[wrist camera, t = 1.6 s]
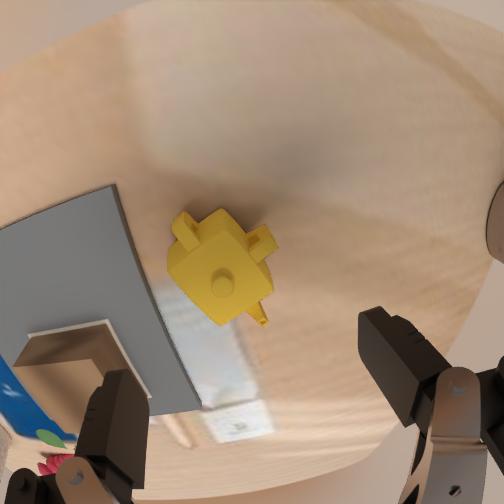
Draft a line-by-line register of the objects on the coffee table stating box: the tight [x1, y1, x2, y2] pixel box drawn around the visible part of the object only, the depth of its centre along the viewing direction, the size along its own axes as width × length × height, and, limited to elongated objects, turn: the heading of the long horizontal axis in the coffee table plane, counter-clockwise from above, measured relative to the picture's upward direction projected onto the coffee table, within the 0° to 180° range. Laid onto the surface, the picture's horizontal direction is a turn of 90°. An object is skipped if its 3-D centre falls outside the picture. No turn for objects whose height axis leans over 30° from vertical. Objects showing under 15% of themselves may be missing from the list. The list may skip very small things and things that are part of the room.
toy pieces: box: [36, 429, 76, 475], centre depth 26 cm, size 12×11×4 cm
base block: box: [12, 323, 148, 434], centre depth 19 cm, size 8×8×4 cm
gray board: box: [0, 184, 202, 420], centre depth 20 cm, size 18×20×1 cm
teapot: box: [167, 208, 278, 327], centre depth 18 cm, size 8×6×5 cm
